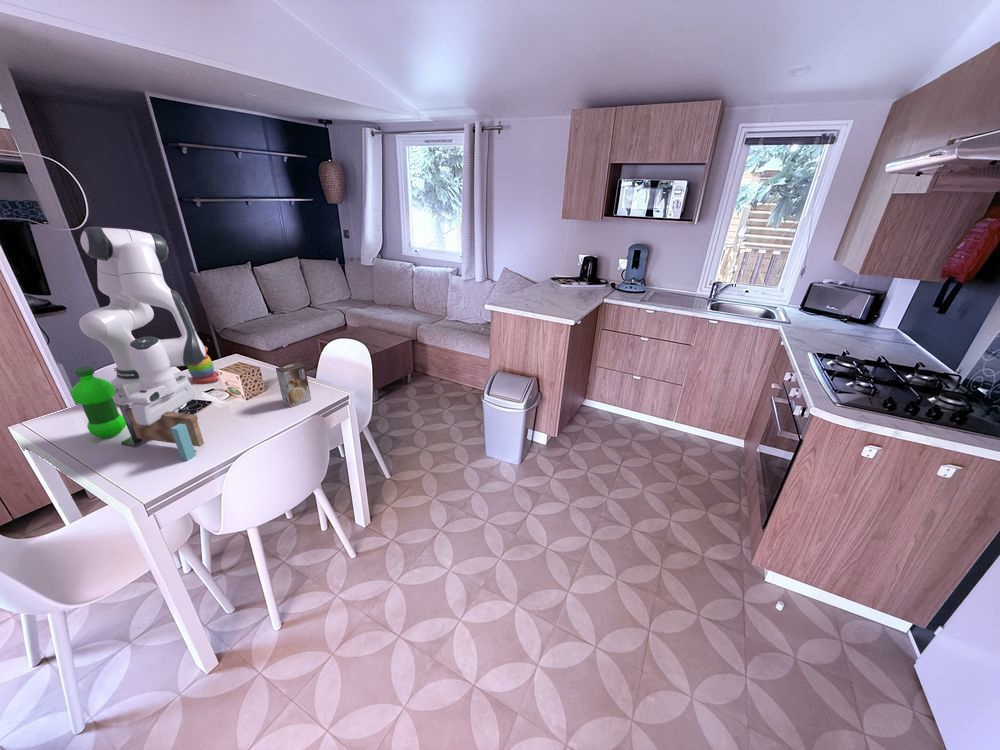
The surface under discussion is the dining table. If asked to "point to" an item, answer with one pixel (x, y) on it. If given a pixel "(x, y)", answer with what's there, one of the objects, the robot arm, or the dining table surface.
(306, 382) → the coffee box
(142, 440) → the hinge post
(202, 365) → the stacking bear
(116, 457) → the dining table surface
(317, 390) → the dining table surface
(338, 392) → the dining table surface
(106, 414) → the plastic bottle
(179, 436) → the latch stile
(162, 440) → the gate
